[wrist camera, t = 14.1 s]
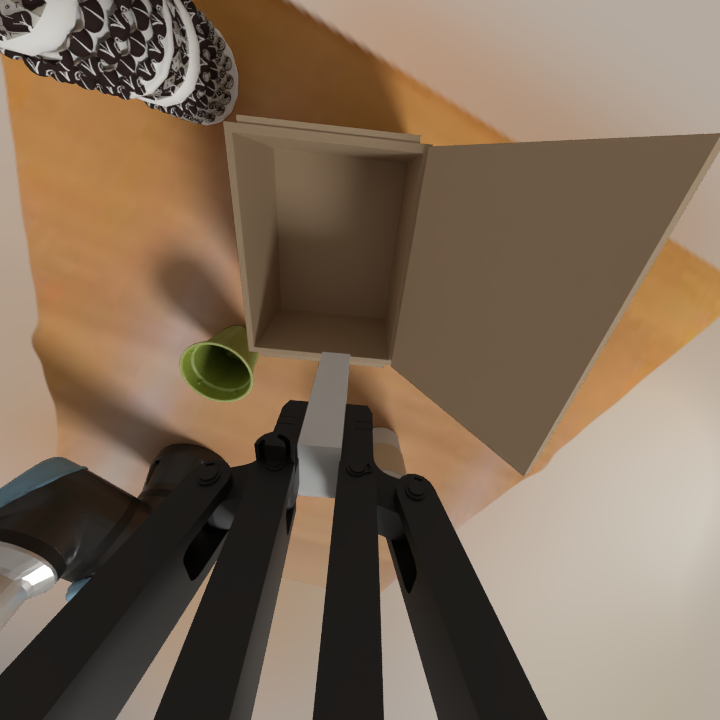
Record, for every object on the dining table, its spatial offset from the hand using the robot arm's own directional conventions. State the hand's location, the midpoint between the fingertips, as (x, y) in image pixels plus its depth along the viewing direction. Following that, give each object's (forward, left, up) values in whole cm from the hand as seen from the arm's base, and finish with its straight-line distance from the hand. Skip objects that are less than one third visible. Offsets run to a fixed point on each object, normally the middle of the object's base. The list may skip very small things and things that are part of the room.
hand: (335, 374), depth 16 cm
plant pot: (-17, -14, -27) cm, 34 cm away
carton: (-3, +2, -27) cm, 27 cm away
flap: (+9, +2, -7) cm, 12 cm away
